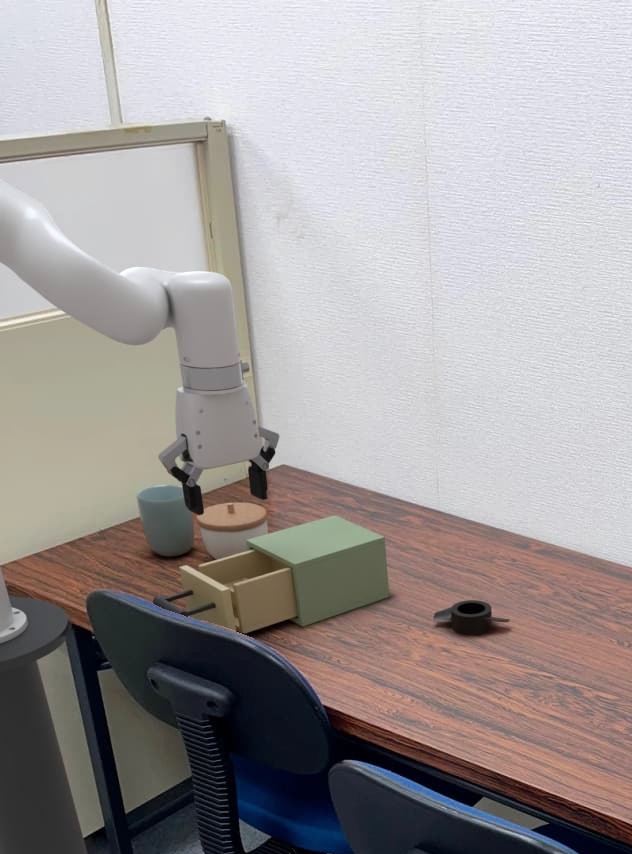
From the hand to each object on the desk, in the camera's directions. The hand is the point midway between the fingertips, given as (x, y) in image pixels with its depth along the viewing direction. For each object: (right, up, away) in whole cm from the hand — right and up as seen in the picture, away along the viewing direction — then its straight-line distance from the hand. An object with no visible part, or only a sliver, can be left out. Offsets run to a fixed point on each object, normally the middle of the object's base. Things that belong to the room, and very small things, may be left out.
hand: (228, 504), depth 163 cm
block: (0, -13, +8) cm, 16 cm away
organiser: (+9, -10, +17) cm, 22 cm away
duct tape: (+32, -16, +10) cm, 37 cm away
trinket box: (-8, -2, +29) cm, 31 cm away
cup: (-19, -1, +32) cm, 37 cm away
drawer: (-1, -15, +8) cm, 17 cm away
